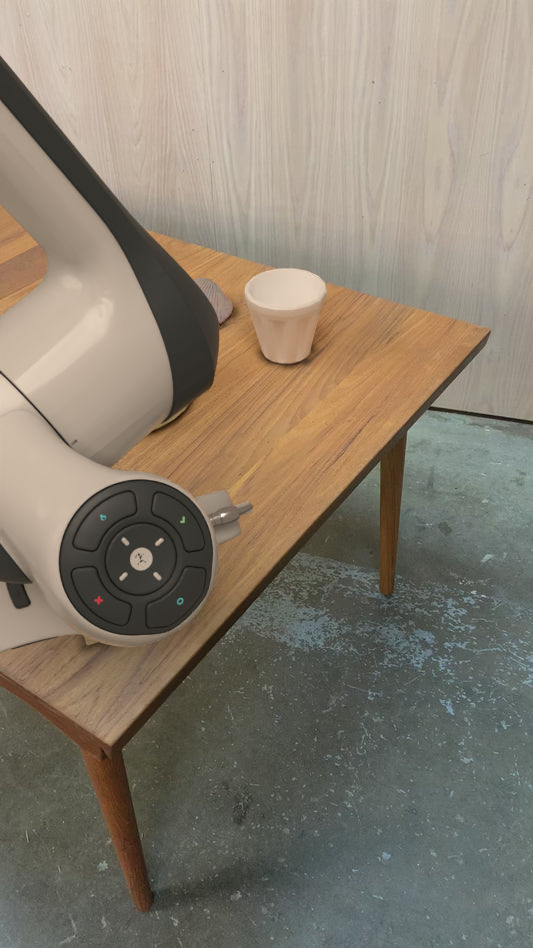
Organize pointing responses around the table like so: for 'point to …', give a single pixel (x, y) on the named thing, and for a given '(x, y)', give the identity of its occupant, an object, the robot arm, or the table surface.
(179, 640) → the table surface
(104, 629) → the robot arm
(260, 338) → the cup
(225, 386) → the table surface
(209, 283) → the seashell
